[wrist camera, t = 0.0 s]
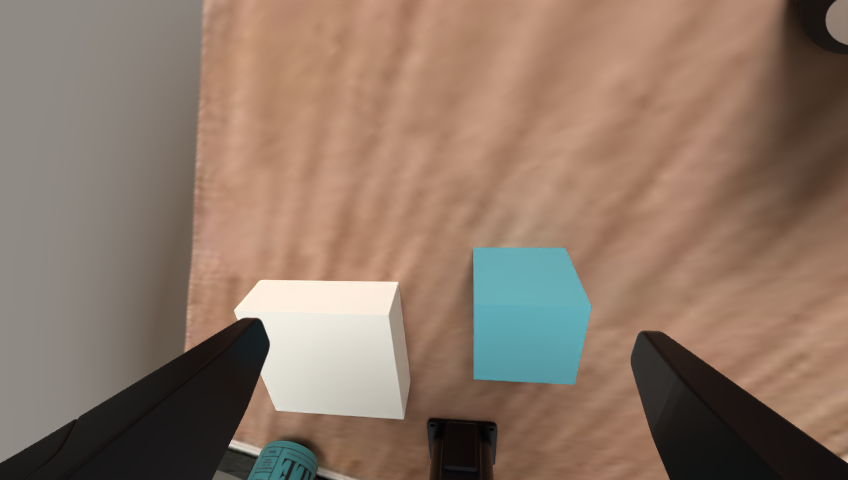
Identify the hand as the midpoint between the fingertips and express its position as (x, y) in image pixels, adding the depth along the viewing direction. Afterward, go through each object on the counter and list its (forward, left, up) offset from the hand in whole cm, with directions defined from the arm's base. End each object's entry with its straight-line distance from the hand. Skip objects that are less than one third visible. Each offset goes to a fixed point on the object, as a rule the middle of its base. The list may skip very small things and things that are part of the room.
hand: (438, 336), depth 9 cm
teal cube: (-9, -4, -15) cm, 18 cm away
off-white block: (-15, +10, -15) cm, 23 cm away
